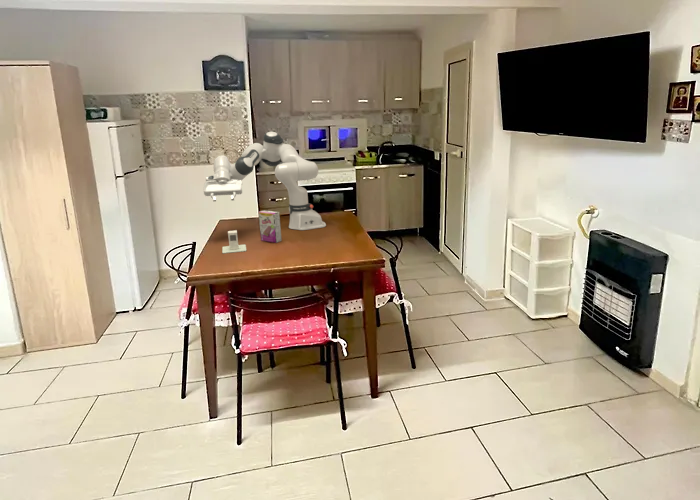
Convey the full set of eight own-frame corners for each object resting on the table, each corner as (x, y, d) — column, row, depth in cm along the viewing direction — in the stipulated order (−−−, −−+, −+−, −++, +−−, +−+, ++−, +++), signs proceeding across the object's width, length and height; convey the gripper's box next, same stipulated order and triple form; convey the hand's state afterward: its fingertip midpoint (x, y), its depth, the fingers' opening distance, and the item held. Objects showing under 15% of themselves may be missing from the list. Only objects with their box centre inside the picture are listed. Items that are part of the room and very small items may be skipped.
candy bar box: (260, 241, 267) (257, 211, 262) (266, 238, 271) (263, 210, 266) (276, 243, 262) (273, 213, 257) (282, 241, 266) (279, 211, 261)
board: (245, 245, 260) (245, 244, 260) (246, 251, 249) (246, 250, 249) (222, 247, 258) (222, 246, 258) (222, 253, 247) (222, 252, 246)
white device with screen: (238, 246, 256) (236, 230, 254) (238, 249, 252) (236, 232, 249) (229, 247, 255) (227, 231, 253) (229, 250, 251) (227, 233, 248)
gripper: (242, 183, 272) (243, 202, 265) (204, 184, 268) (204, 204, 261) (241, 175, 267) (243, 195, 260) (202, 177, 263) (203, 197, 256)
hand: (223, 200), depth 260 cm, fingers open, 8 cm apart
